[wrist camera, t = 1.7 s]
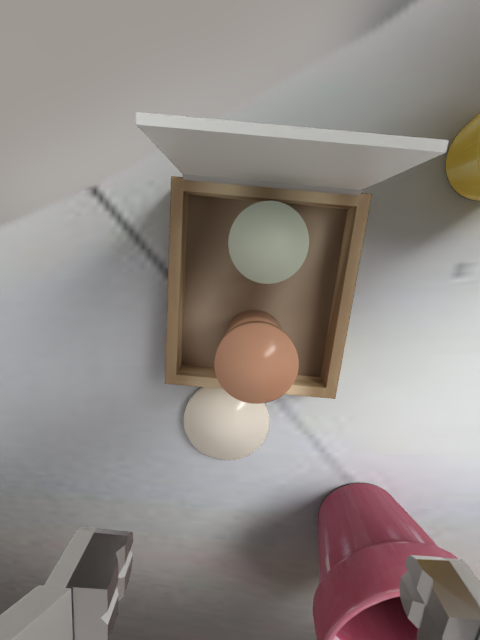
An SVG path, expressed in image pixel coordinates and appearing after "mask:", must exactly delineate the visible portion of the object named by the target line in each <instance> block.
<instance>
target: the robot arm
mask: <svg viewBox="0 0 480 640" xmlns="http://www.w3.org/2000/svg"><path fill="white" fill-rule="evenodd" d="M132 543H133V532H127V531H119V530H110V529H101V528H91V527H80V528H79V529H78V530H77V531H76V532H75V533H74V535H73V537H72V538H71V540H70V542H69V544H68V545H67V547H66V549H65V550H64V552H63V554H62V556H61V557H60V559H59V561H58V562H57V564H56V566H55V568H54V569H53V571H52V573H51V574H50V576H49V578H48V580H47V581H46V583H45V585H44V586H37V587H36V588H34V589H33V590H32V591H31V592H29V593H28V594H27V595H25V596H24V597H23V598H22V599H20V600H19V601H18V602H16V603H15V604H14V605H13V606H11V607H10V608H9V609H7V610H6V611H5V612H3V613H2V614H1V615H0V640H109V639H110V636H111V633H112V630H113V627H114V624H115V621H116V618H117V615H118V601H119V600H120V599H121V598H122V597H123V596H124V595H125V592H126V588H127V585H128V582H129V578H130V573H131V568H132V561H133V554H132V552H131V551H130V549H131V546H132ZM405 566H406V568H407V570H408V572H406V573H405V574H404V575H403V576H401V580H400V585H399V589H400V598H401V602H402V605H403V608H404V611H405V613H406V615H407V618H408V619H409V620H410V621H411V622H412V623H413V624H414V625H415V626H416V627H417V628H418V630H417V640H480V581H479V580H478V578H477V577H476V575H475V574H474V573H473V571H472V570H471V568H470V567H469V566H468V564H467V563H466V562H465V561H463V560H462V559H454V558H442V557H432V556H417V555H410V556H408V557H407V559H406V562H405Z"/></svg>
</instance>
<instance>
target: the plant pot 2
mask: <svg viewBox="0 0 480 640" xmlns="http://www.w3.org/2000/svg"><path fill="white" fill-rule="evenodd" d="M446 173H447V177H448V180H449V182H450V184H451V186H452V187H453V188H454V190H455V191H457V192H458V193H459V194H460V195H462V196H463V197H465V198H468V199H471V200H476V201H480V113H479V114H478V115H477V116H476V117H475V118H474V119H473V120H472V121H470V122H469V123H468V124H467V125H466V126H465V127H464V128H463V129H462V130H461V131H460V132H459V133H458V135H457V136H456V137H455V139H454V140H453V142H452V144H451V146H450V148H449V151H448V154H447V158H446Z"/></svg>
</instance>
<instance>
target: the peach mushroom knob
mask: <svg viewBox="0 0 480 640" xmlns="http://www.w3.org/2000/svg"><path fill="white" fill-rule="evenodd" d="M214 368H215V373H216V377H217V379H218V382H219V383H220V385H221V386H222V388H223V389H224V390H225V391H226V392H227V393H228V394H229V395H231V396H232V397H234V398H236V399H238V400H240V401H243V402H246V403H252V404H260V403H266V402H270V401H273V400H275V399H277V398H279V397H281V396H282V395H283V394H285V393H286V392H287V391H288V390H289V389H290V388H291V386H292V385H293V383H294V381H295V379H296V377H297V374H298V369H299V359H298V354H297V351H296V349H295V346H294V344H293V342H292V340H291V339H290V337H289V336H288V335H287V334H286V333H285V332H284V331H283V330H282V328H281V326H280V324H279V322H278V321H277V320H276V319H275V318H274V317H273V316H272V315H270V314H269V313H267V312H264V311H261V310H248V311H245V312H242V313H240V314H238V315H237V316H236V317H235V318H233V319H232V321H231V322H230V324H229V325H228V328H227V331H226V334H225V335H224V337H223V338H222V339H221V341H220V343H219V345H218V348H217V352H216V355H215V361H214Z"/></svg>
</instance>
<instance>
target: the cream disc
mask: <svg viewBox="0 0 480 640" xmlns="http://www.w3.org/2000/svg"><path fill="white" fill-rule="evenodd" d="M183 422H184V430H185V433H186V435H187V437H188V439H189V441H190V442H191V443H192V445H193V446H194V447H195V448H196V449H197V450H199V451H200V452H202V453H203V454H205V455H207V456H209V457H212V458H215V459H220V460H235V459H240V458H243V457H246V456H248V455H250V454H251V453H253V452H254V451H256V450H257V449H258V448H259V447H260V446H261V445H262V443H263V442H264V440H265V439H266V437H267V434H268V430H269V413H268V409H267V406H266V404H265V403H260V404H252V403H246V402H243V401H240V400H238V399H236V398H234V397H232V396H231V395H229V394H228V393H227V392H226V391H225V390H224V389H220V388H208V387H201V388H200V389H198V390H197V391H196V392H195V393H194V394H193V396H192V397H191V398H190V400H189V402H188V404H187V406H186V409H185V413H184V419H183Z"/></svg>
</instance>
